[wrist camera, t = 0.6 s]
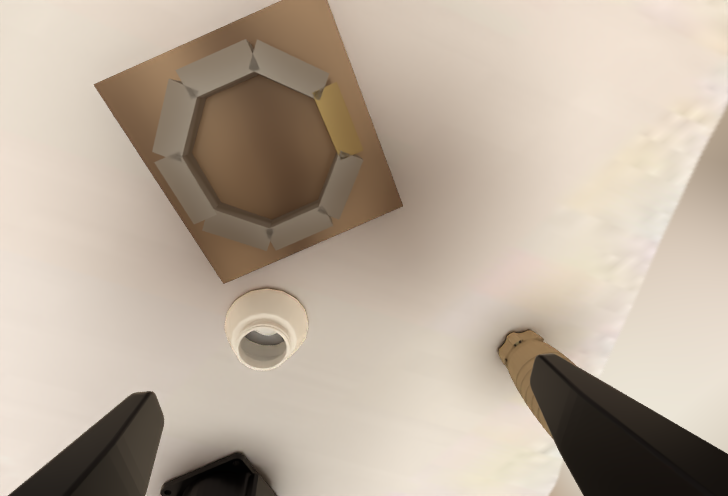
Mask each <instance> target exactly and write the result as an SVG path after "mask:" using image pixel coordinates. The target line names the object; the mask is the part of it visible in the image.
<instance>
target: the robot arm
mask: <svg viewBox="0 0 728 496" xmlns="http://www.w3.org/2000/svg"><path fill="white" fill-rule="evenodd" d="M530 386H531V389H532V392H533V394H534V396H535V398H536V401H537V403H538V405H539V408H540V410H541V412H542V414H543V417H544V419H545V421H546V423H547V426H548V428H549V430H550V433H551V435H552V437H553V439H554V442H555V444H556V446H557V448H558V450H559V452H560V454H561V456H562V458H563V459H564V461H565V463H566V465H567V467H568V468H569V470H570V472H571V474H572V476H573V477H574V479H575V481H576V483H577V485H578V486H579V488H580V490H581V492H582V494H583V495H584V496H728V454H727V453H725V452H724V451H722V450H720V449H718V448H717V447H715V446H713V445H711V444H710V443H708V442H706V441H705V440H703V439H701V438H699V437H698V436H696V435H694V434H692V433H691V432H689V431H687V430H686V429H684V428H682V427H680V426H679V425H677V424H675V423H674V422H672V421H670V420H668V419H667V418H665V417H663V416H662V415H660V414H658V413H656V412H655V411H653V410H651V409H649V408H648V407H646V406H644V405H643V404H641V403H639V402H637V401H636V400H634V399H632V398H630V397H628V396H627V395H625V394H623V393H622V392H620V391H618V390H616V389H615V388H613V387H611V386H610V385H608V384H606V383H605V382H603V381H601V380H599V379H598V378H596V377H594V376H593V375H591V374H589V373H587V372H586V371H584V370H582V369H581V368H579V367H577V366H575V365H574V364H572V363H570V362H568V361H567V360H565V359H563V358H562V357H560V356H558V355H556V354H554V353H548V354H539V355H537V356H536V357H535V360H534V364H533V368H532V372H531V376H530ZM163 427H164V416H163V413H162V410H161V407H160V405H159V402H158V399H157V397H156V395H155V393H154V392H151V391H147V392H137V393H133V394H131V395H130V396H128V397H127V398H126V399H125V400H123V401H122V402H121V403H120V404H119V405H117V406H116V407H115V408H114V409H113V410H111V411H110V412H109V413H108V414H106V415H105V416H104V417H103V418H102V419H100V420H99V421H98V422H97V423H96V424H94V425H93V426H92V427H91V428H89V429H88V430H87V431H86V432H85V433H83V434H82V435H81V436H80V437H79V438H77V439H76V440H75V441H74V442H73V443H71V444H70V445H69V446H68V447H66V448H65V449H64V450H63V451H62V452H60V453H59V454H58V455H57V456H56V457H54V458H53V459H52V460H51V461H49V462H48V463H47V464H46V465H45V466H43V467H42V468H41V469H40V470H39V471H37V472H36V473H35V474H34V475H32V476H31V477H30V478H29V479H28V480H26V481H25V482H24V483H23V484H22V485H20V486H19V487H18V488H17V489H15V490H14V491H13V492H12V493H11V494H9V495H8V496H145V494H146V491H147V487H148V484H149V480H150V476H151V472H152V468H153V465H154V461H155V457H156V453H157V450H158V446H159V442H160V438H161V435H162V431H163ZM160 494H161V495H162V496H276V495H275V494H274V492H273V491H272V489H271V488H270V487H269V486H268V484H267V483H266V482H265V481H264V479H263V478H262V477H261V476H260V475H259V474H258V473H257V471H256V470H255V469H254V468H253V467H252V465H251V464H250V463H249V462H248V460H247V459H246V458H245V457H244V456H243V455H242V454H233V455H231V456H229V457H226V458H224V459H222V460H219V461H217V462H214V463H212V464H210V465H207V466H205V467H203V468H200V469H198V470H196V471H193V472H191V473H189V474H186V475H184V476H181V477H179V478H177V479H174V480H172V481H170V482H167V483H165V484H164V485H163V486H162V489H161V491H160Z"/></svg>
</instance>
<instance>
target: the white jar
mask: <svg viewBox="0 0 728 496" xmlns="http://www.w3.org/2000/svg"><path fill="white" fill-rule="evenodd" d="M224 330H225V333H226V336H227V339H228V342H229V344H230V345H231V347H232V349H233V351H234V352H235V354H236V356H237V358H238V359H239V361H240V362H241V363H242V364H243V365H245V366H246V367H248V368H251V369H254V370H259V371H265V370H271V369H274V368H276V367H278V366H280V365H281V364H283V363H284V362H285V360H287V359H288V358H289V357H290V356H291V355H292V354H293V353H294V352H295V351H296V350H297V349H298V348H299V347H300V345H301V344H302V343H303V342H304V340H305V338H306V334H307V330H308V319H307V315H306V310H305V309H304V308H303V307H302V305H301V304H300V303H299V301H298V300H297V299H296V298H294V297H292V296H290V295H289V294H287V293H285V292H283V291H279V290H273V289H267V288H266V289H261V290H255V291H250V292H248V293H246V294H245V295H243V296H241V297H240V298H238V299H236V301H235V302H234V303H233V305H232V306H231V307H230V309H229V310H228V312H227V314H226V320H225V326H224ZM254 330H255V331H256V332H258V333H259V334H262V335H274V334H276V333H278V334H279V335H280V336H281V337H282V338H283V339H284V340H285V341H284V342H282V343H280V344H275V345H270V346H267V345H260V344H256V343H254V342H252V341H250V340H248V339H247V337H246V336H245V335H246V334H248V333H249V332H251V331H254Z"/></svg>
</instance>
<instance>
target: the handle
mask: <svg viewBox="0 0 728 496" xmlns="http://www.w3.org/2000/svg"><path fill="white" fill-rule="evenodd" d="M543 340H544V339H543V338H542V337H540V336H539V335H538V334H536V333H535V332H533V331H530V330H527V331H525V332H522V333H515V332H513V333H511V334H509V335H508V336H507V339H506V341H505V343H504V344H503V346H502V347H501V348H499V356H500V359H501V360H502V362H503V364H504V365H506V367H507V369H508V371H509V374H510V376H511V378H512V380H513V382H514V384H515V386H516V388H517V389H518V391H519V393H520V394H521V396H522V398H523V399H524V401H525V403H526V404H527V406H528V407H529V409H530V410H531V411H532V413H533V414H534V415H535V417H536V418H537V420H538V421H539V422H540V424H541V425H542V426H543V428H544V429H545V430H546V431H547V432H548V434H549V435H550V436H551V437H552V435H551V433H550V430H549V428H548V426H547V423H546V421H545V419H544V417H543V414H542V412H541V410H540V408H539V405H538V403H537V401H536V398H535V396H534V394H533V392H532V389H531V386H530V376H531V372H532V368H533V364H534V360H535V357H536V356H537V355H539V354H548V353H554V354H556V355H558V356H560V357H562V358H563V359H565V360H567V361H568V362H570V363H572V364H574V363H573V362H571V361H570V360H569V359H568V358H567V357H565V356H564V355H563V354H562V353H560V352H559V351H558V350H556V349H555V348H553V347H552V346H550V345H548V344H547V343H544V342H543ZM574 365H575V364H574ZM575 366H576V365H575ZM552 438H553V437H552ZM553 440H554V439H553Z"/></svg>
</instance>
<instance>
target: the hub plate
mask: <svg viewBox="0 0 728 496" xmlns="http://www.w3.org/2000/svg"><path fill="white" fill-rule="evenodd" d="M94 86H95V88H96V89H97V91H98V92H99V94H100V95H101V97H102V98H103V100H104V101H105V103H106V104H107V106H108V107H109V109H110V111H111V112H112V114H113V115H114V117H115V118H116V120H117V121H118V123H119V124H120V126H121V127H122V129H123V130H124V132H125V134H126V135H127V137H128V138H129V140H130V141H131V143H132V144H133V146H134V147H135V149H136V150H137V152H138V153H139V155H140V157H141V158H142V160H143V161H144V163H145V164H146V166H147V167H148V169H149V170H150V172H151V173H152V175H153V176H154V178H155V180H156V181H157V183H158V184H159V186H160V187H161V189H162V190H163V192H164V193H165V195H166V196H167V198H168V199H169V201H170V203H171V204H172V206H173V207H174V209H175V210H176V212H177V213H178V215H179V216H180V218H181V219H182V221H183V222H184V224H185V226H186V227H187V229H188V230H189V232H190V233H191V235H192V236H193V238H194V239H195V241H196V242H197V244H198V245H199V247H200V248H201V250H202V252H203V253H204V255H205V256H206V258H207V259H208V261H209V262H210V264H211V265H212V267H213V268H214V270H215V271H216V273H217V275H218V276H219V278H220V279H221V281H222V282H223V284H225V283H227V282H229V281H232V280H234V279H236V278H239V277H241V276H243V275H245V274H248V273H250V272H252V271H255V270H257V269H259V268H262V267H264V266H266V265H269V264H271V263H273V262H275V261H278V260H280V259H282V258H285V257H287V256H289V255H292V254H294V253H296V252H299V251H301V250H303V249H306V248H308V247H310V246H312V245H315V244H317V243H319V242H322V241H324V240H326V239H329V238H331V237H333V236H336V235H338V234H340V233H342V232H345V231H347V230H349V229H352V228H354V227H356V226H359V225H361V224H363V223H366V222H368V221H370V220H372V219H375V218H377V217H379V216H382V215H384V214H386V213H389V212H391V211H393V210H396V209H398V208H400V207H402V206H403V204H402V202H401V199H400V196H399V194H398V191H397V188H396V185H395V183H394V180H393V177H392V175H391V172H390V169H389V167H388V164H387V161H386V158H385V156H384V153H383V150H382V148H381V145H380V142H379V140H378V137H377V134H376V131H375V129H374V126H373V123H372V121H371V118H370V115H369V112H368V110H367V107H366V104H365V102H364V99H363V96H362V94H361V91H360V88H359V85H358V83H357V80H356V77H355V75H354V72H353V69H352V67H351V64H350V61H349V58H348V56H347V53H346V50H345V48H344V45H343V42H342V39H341V37H340V34H339V31H338V29H337V26H336V23H335V21H334V18H333V15H332V12H331V10H330V7H329V4H328V2H327V0H282V1H280V2H277V3H275V4H273V5H271V6H268V7H266V8H264V9H262V10H259V11H257V12H255V13H253V14H250V15H248V16H246V17H244V18H242V19H239V20H237V21H235V22H233V23H230V24H228V25H226V26H224V27H221V28H219V29H217V30H215V31H212V32H210V33H208V34H206V35H203V36H201V37H199V38H197V39H195V40H192V41H190V42H188V43H186V44H183V45H181V46H179V47H177V48H174V49H172V50H170V51H168V52H165V53H163V54H161V55H159V56H156V57H154V58H152V59H150V60H148V61H145V62H143V63H141V64H139V65H136V66H134V67H132V68H130V69H127V70H125V71H123V72H121V73H118V74H116V75H114V76H112V77H109V78H107V79H105V80H103V81H101V82H98V83H96V84H94Z"/></svg>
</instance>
